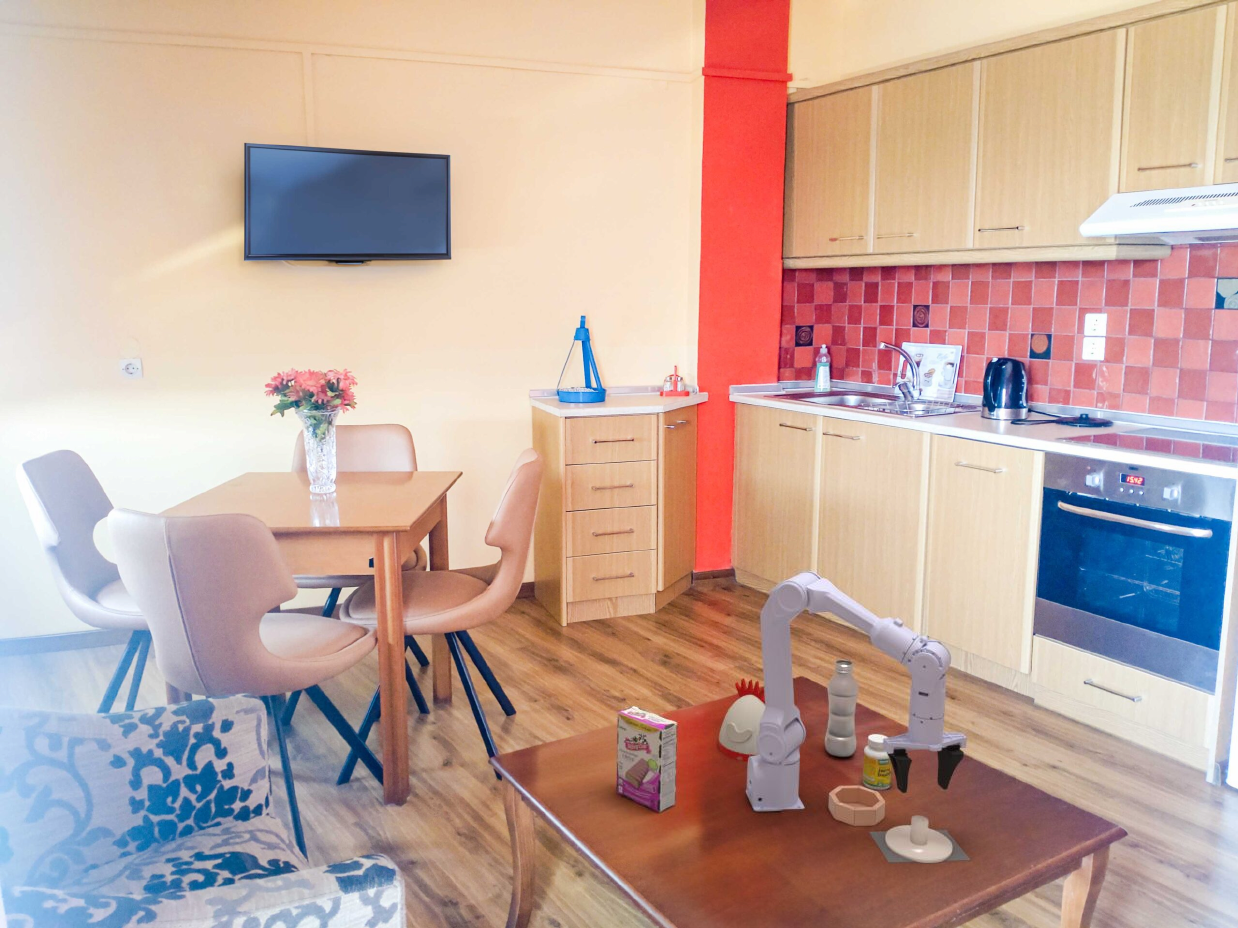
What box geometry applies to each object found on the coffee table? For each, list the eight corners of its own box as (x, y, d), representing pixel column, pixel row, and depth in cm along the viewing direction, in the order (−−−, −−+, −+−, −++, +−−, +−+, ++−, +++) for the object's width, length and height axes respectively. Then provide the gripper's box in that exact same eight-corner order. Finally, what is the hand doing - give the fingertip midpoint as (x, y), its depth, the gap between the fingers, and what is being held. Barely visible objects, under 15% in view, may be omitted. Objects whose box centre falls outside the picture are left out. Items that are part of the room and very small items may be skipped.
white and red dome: (738, 729, 216) (740, 664, 214) (795, 745, 208) (798, 678, 206) (706, 750, 205) (708, 682, 203) (765, 768, 197) (767, 697, 195)
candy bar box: (614, 794, 185) (615, 711, 183) (632, 785, 189) (633, 704, 186) (659, 814, 177) (661, 728, 175) (676, 805, 181) (678, 721, 179)
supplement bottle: (875, 775, 194) (877, 730, 193) (896, 786, 190) (899, 739, 189) (856, 782, 191) (858, 736, 190) (877, 793, 187) (880, 745, 186)
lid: (898, 863, 161) (900, 836, 160) (876, 830, 172) (877, 804, 171) (963, 861, 162) (964, 834, 161) (936, 828, 173) (938, 803, 172)
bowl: (838, 828, 173) (839, 810, 173) (823, 803, 182) (824, 786, 182) (889, 827, 174) (890, 809, 173) (872, 802, 183) (873, 784, 183)
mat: (888, 865, 161) (888, 862, 161) (868, 834, 171) (868, 831, 171) (970, 863, 162) (970, 859, 162) (945, 832, 172) (946, 829, 172)
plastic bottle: (860, 752, 205) (864, 660, 203) (849, 763, 200) (853, 670, 197) (830, 744, 209) (835, 655, 206) (819, 756, 203) (823, 663, 200)
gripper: (898, 724, 160) (894, 802, 162) (978, 719, 163) (973, 795, 165) (879, 708, 167) (875, 783, 169) (956, 703, 170) (951, 777, 172)
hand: (922, 788), depth 167 cm, fingers open, 7 cm apart
